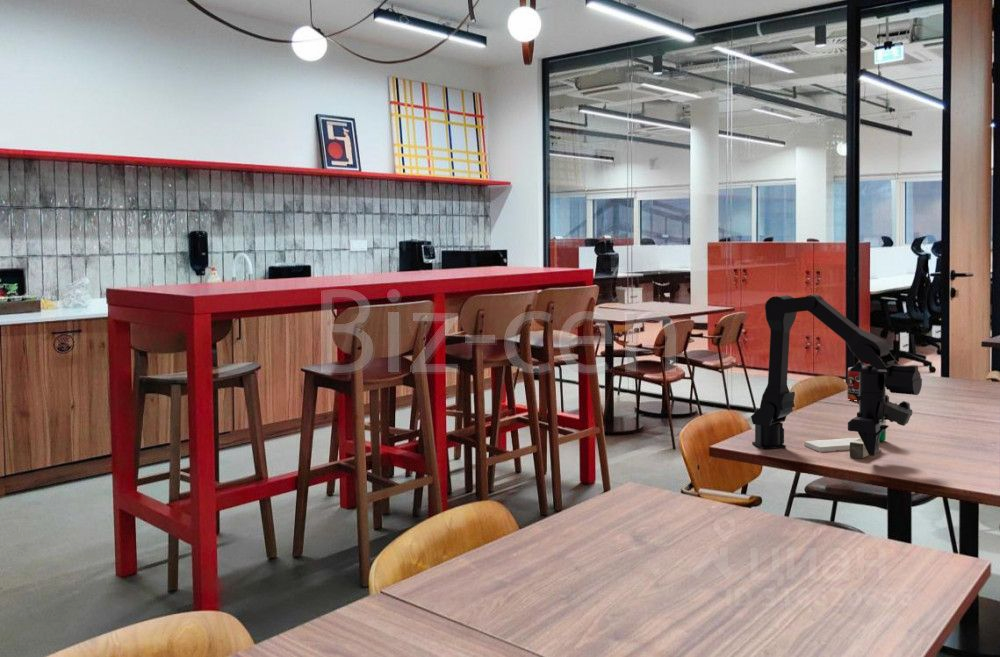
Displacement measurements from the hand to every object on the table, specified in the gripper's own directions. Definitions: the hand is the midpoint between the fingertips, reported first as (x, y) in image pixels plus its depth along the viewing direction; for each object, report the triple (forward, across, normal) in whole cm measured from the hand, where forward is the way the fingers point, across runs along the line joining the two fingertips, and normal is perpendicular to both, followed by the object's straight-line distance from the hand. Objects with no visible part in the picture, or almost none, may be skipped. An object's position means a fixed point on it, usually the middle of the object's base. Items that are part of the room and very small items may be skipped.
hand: (871, 455), depth 199 cm
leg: (+2, +9, +4) cm, 10 cm away
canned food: (+2, +85, +26) cm, 89 cm away
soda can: (+2, +25, +6) cm, 26 cm away
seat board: (+2, +11, +10) cm, 15 cm away
